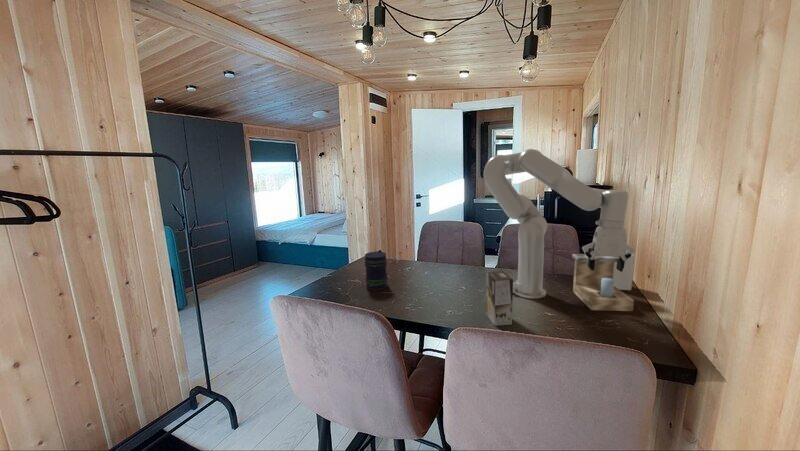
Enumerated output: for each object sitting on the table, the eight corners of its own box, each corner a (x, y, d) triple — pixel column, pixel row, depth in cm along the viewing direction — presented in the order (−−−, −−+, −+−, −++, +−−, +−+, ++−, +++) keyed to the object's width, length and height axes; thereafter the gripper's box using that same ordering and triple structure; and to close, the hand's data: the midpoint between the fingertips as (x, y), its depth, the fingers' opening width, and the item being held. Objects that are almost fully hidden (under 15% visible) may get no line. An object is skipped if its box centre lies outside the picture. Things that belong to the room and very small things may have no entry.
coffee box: (512, 324, 111) (514, 279, 109) (494, 326, 111) (495, 280, 108) (502, 313, 120) (503, 270, 118) (485, 314, 120) (485, 271, 117)
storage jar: (389, 282, 157) (387, 251, 154) (386, 289, 147) (384, 257, 144) (368, 282, 158) (366, 251, 155) (364, 289, 148) (362, 257, 145)
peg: (602, 307, 122) (604, 281, 121) (597, 302, 126) (599, 277, 125) (614, 307, 122) (616, 281, 120) (608, 302, 126) (611, 277, 124)
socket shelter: (588, 309, 120) (591, 267, 118) (570, 290, 138) (572, 254, 136) (636, 311, 118) (640, 268, 115) (611, 291, 136) (614, 254, 133)
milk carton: (631, 290, 137) (635, 246, 133) (612, 290, 138) (615, 245, 135) (623, 284, 143) (627, 242, 140) (605, 284, 145) (608, 241, 142)
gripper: (589, 225, 116) (584, 271, 120) (643, 227, 114) (636, 274, 117) (581, 221, 124) (576, 265, 127) (631, 223, 121) (625, 267, 125)
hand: (605, 269), depth 122 cm, fingers open, 9 cm apart
